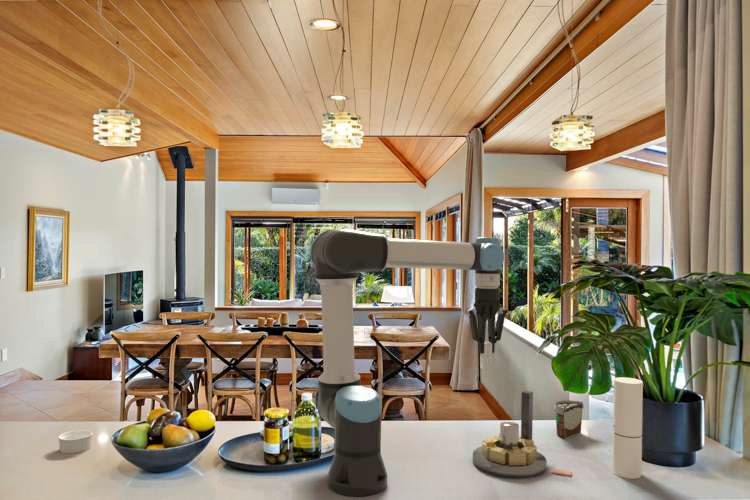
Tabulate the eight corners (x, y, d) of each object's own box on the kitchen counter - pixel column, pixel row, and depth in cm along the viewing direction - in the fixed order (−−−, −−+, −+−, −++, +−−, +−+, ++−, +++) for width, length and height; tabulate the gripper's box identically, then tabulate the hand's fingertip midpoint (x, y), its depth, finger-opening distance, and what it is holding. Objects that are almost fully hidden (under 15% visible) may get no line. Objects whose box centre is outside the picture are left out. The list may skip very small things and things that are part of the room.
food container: (566, 427, 189) (566, 397, 189) (583, 432, 184) (583, 401, 184) (545, 435, 181) (545, 404, 181) (562, 440, 176) (562, 408, 176)
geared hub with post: (521, 469, 147) (521, 409, 146) (474, 456, 156) (474, 399, 155) (551, 449, 161) (551, 395, 161) (506, 438, 170) (507, 387, 170)
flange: (492, 482, 144) (493, 439, 144) (461, 453, 164) (461, 416, 163) (561, 474, 149) (561, 433, 149) (523, 448, 169) (523, 411, 169)
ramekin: (55, 448, 165) (56, 433, 165) (89, 441, 170) (89, 427, 170) (60, 457, 158) (60, 442, 158) (95, 450, 163) (95, 435, 163)
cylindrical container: (635, 468, 154) (637, 377, 154) (645, 479, 147) (647, 384, 147) (608, 467, 155) (610, 376, 155) (617, 477, 148) (618, 383, 148)
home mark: (551, 473, 150) (551, 471, 150) (552, 469, 153) (552, 468, 153) (570, 476, 148) (570, 475, 148) (571, 473, 150) (571, 471, 150)
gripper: (471, 288, 167) (470, 367, 167) (513, 288, 171) (512, 365, 171) (461, 286, 175) (460, 362, 175) (502, 286, 178) (501, 360, 178)
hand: (486, 363), depth 173 cm, fingers closed
